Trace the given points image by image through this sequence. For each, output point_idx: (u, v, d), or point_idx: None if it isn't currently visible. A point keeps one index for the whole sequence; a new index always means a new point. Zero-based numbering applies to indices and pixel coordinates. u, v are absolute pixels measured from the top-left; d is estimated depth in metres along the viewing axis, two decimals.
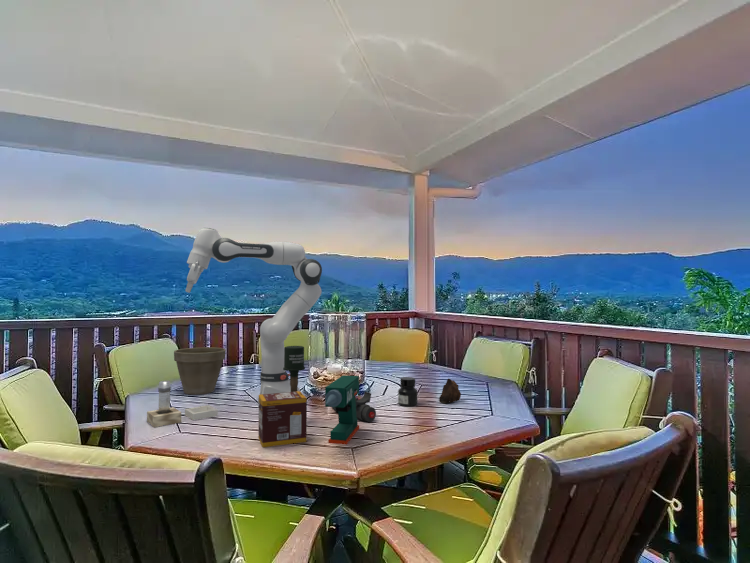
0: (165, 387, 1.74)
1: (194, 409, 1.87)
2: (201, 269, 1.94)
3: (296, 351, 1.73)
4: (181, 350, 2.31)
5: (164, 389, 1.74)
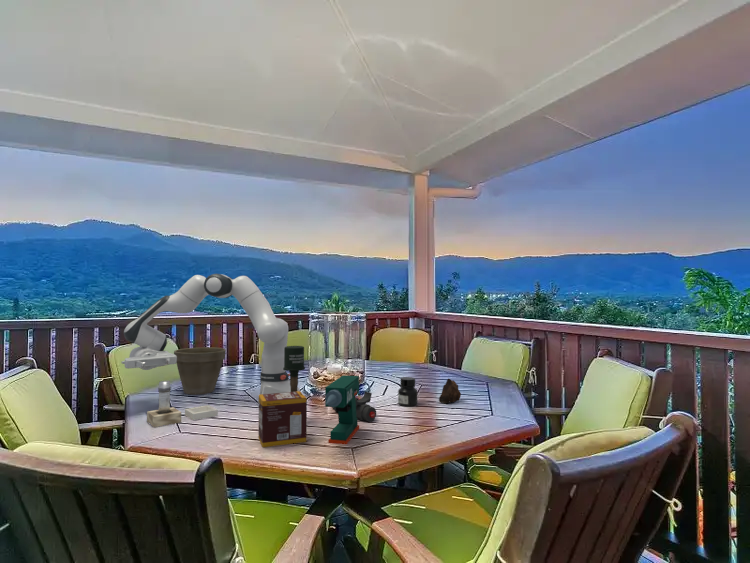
0: (165, 387, 1.74)
1: (194, 409, 1.87)
2: (143, 355, 1.92)
3: (296, 351, 1.73)
4: (181, 350, 2.31)
5: (164, 389, 1.74)
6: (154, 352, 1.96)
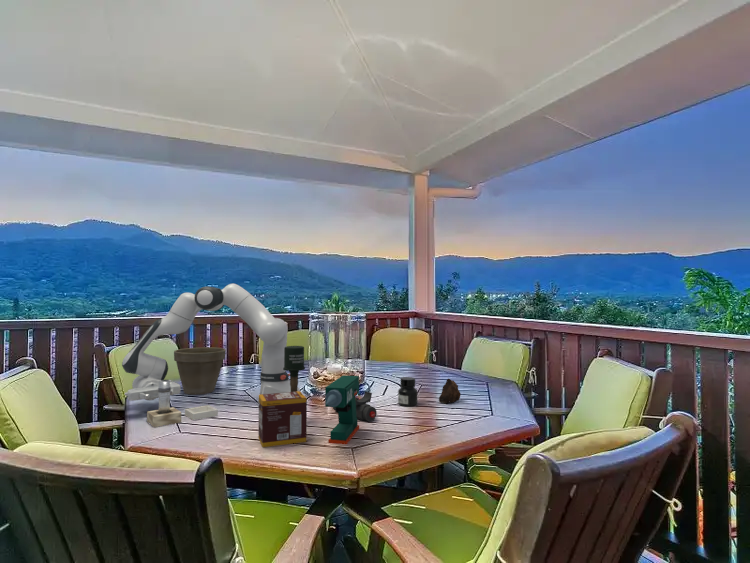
0: (165, 387, 1.74)
1: (194, 409, 1.87)
2: (146, 385, 1.88)
3: (296, 351, 1.73)
4: (181, 350, 2.31)
5: (164, 389, 1.74)
6: (157, 382, 1.92)
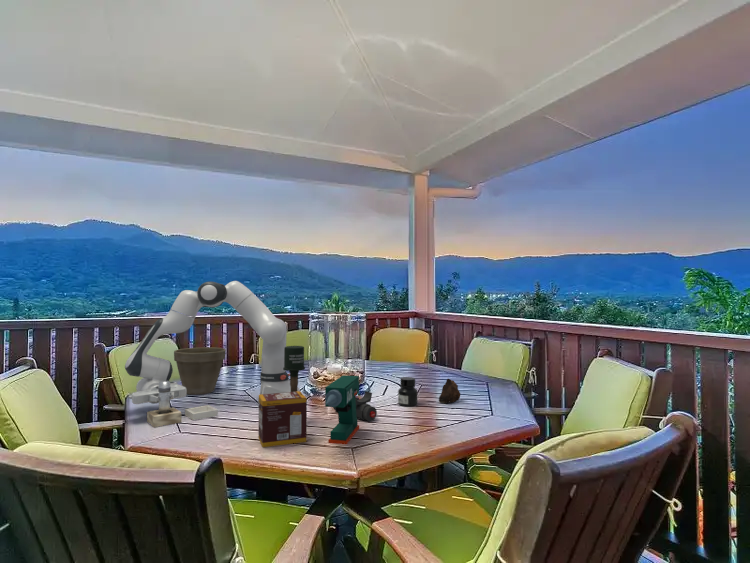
0: (165, 387, 1.74)
1: (194, 409, 1.87)
2: (151, 388, 1.82)
3: (296, 351, 1.73)
4: (181, 350, 2.31)
5: (164, 389, 1.74)
6: None
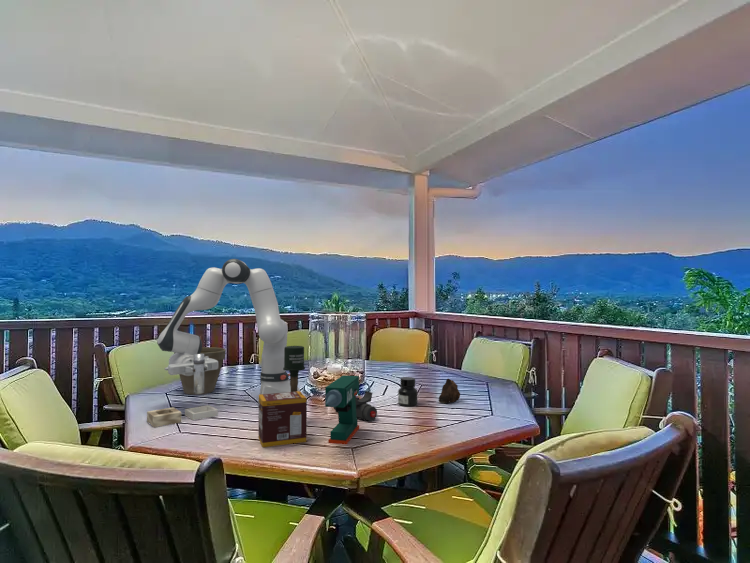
0: (200, 359, 1.82)
1: (194, 409, 1.87)
2: (185, 361, 1.90)
3: (296, 351, 1.73)
4: None
5: (199, 361, 1.82)
6: None
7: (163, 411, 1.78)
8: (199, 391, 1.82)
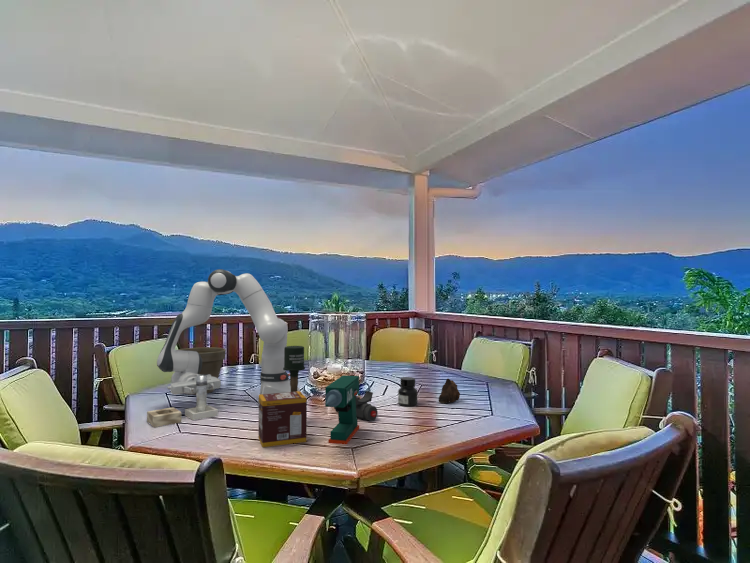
0: (202, 381, 1.83)
1: (194, 409, 1.87)
2: (188, 380, 1.91)
3: (296, 351, 1.73)
4: None
5: (201, 383, 1.83)
6: None
7: (163, 411, 1.78)
8: None
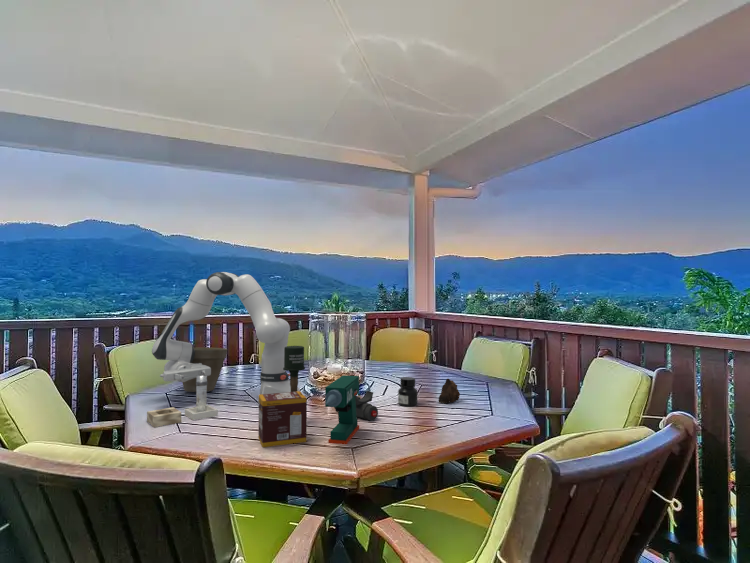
0: (202, 381, 1.83)
1: (194, 409, 1.87)
2: (179, 368, 2.02)
3: (296, 351, 1.73)
4: None
5: (201, 383, 1.83)
6: (189, 365, 2.06)
7: (163, 411, 1.78)
8: None
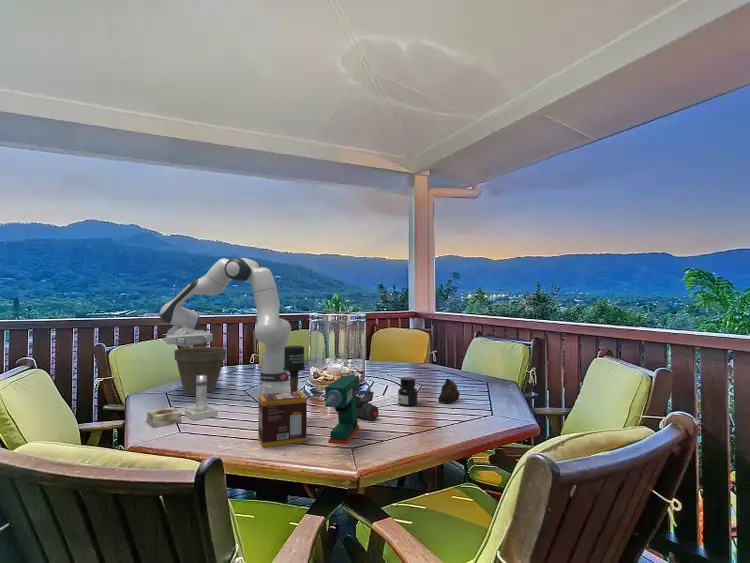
0: (202, 381, 1.83)
1: (194, 409, 1.87)
2: (182, 333, 2.06)
3: (296, 351, 1.73)
4: (182, 349, 2.32)
5: (201, 383, 1.83)
6: (191, 330, 2.10)
7: (163, 411, 1.78)
8: None
